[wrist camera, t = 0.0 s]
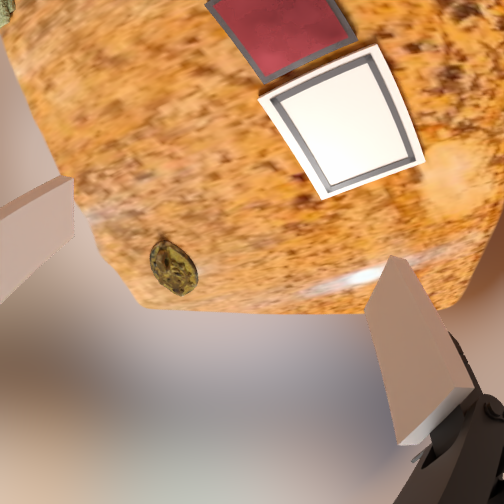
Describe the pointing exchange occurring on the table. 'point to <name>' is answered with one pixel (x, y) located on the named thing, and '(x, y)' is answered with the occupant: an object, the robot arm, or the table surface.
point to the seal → (173, 268)
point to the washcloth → (6, 11)
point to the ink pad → (282, 31)
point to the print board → (345, 122)
